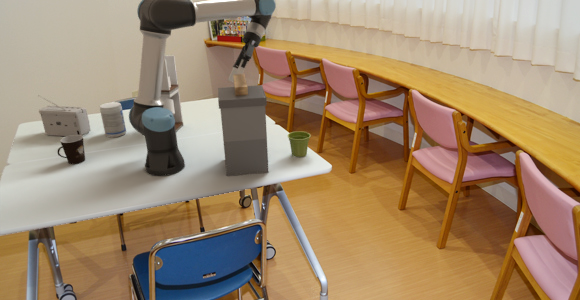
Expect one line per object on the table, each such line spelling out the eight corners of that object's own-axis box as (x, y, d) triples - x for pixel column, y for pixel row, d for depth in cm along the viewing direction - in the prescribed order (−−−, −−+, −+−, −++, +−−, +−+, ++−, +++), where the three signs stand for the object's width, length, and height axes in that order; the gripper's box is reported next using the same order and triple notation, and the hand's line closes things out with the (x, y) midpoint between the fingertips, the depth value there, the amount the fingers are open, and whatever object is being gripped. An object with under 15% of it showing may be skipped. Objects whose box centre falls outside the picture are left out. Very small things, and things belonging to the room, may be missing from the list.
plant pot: (297, 148, 194) (297, 129, 190) (315, 153, 188) (315, 134, 185) (283, 155, 187) (282, 136, 184) (301, 161, 182) (301, 141, 178)
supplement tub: (130, 134, 215) (124, 104, 209) (110, 139, 209) (104, 109, 203) (120, 129, 222) (115, 100, 216) (102, 134, 216) (96, 105, 210)
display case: (152, 132, 216) (141, 60, 202) (161, 125, 226) (151, 55, 212) (175, 133, 214) (165, 60, 200) (183, 125, 224) (174, 55, 210)
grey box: (225, 176, 170) (218, 100, 158) (224, 158, 186) (218, 87, 174) (269, 172, 172) (266, 97, 161) (265, 155, 188) (262, 85, 176)
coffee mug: (83, 155, 193) (78, 133, 189) (91, 160, 187) (86, 138, 183) (54, 163, 186) (49, 141, 182) (62, 169, 180) (56, 146, 176)
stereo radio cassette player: (92, 132, 219) (83, 92, 211) (81, 138, 211) (72, 97, 203) (55, 130, 223) (45, 91, 215) (43, 136, 216) (32, 95, 208)
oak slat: (235, 95, 164) (234, 87, 163) (233, 81, 182) (233, 74, 181) (247, 94, 164) (247, 86, 163) (244, 81, 182) (244, 73, 181)
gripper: (270, 31, 187) (250, 75, 182) (252, 47, 210) (235, 87, 205) (254, 22, 184) (234, 67, 180) (238, 39, 207) (220, 79, 203)
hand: (234, 78), depth 193 cm, fingers open, 13 cm apart
